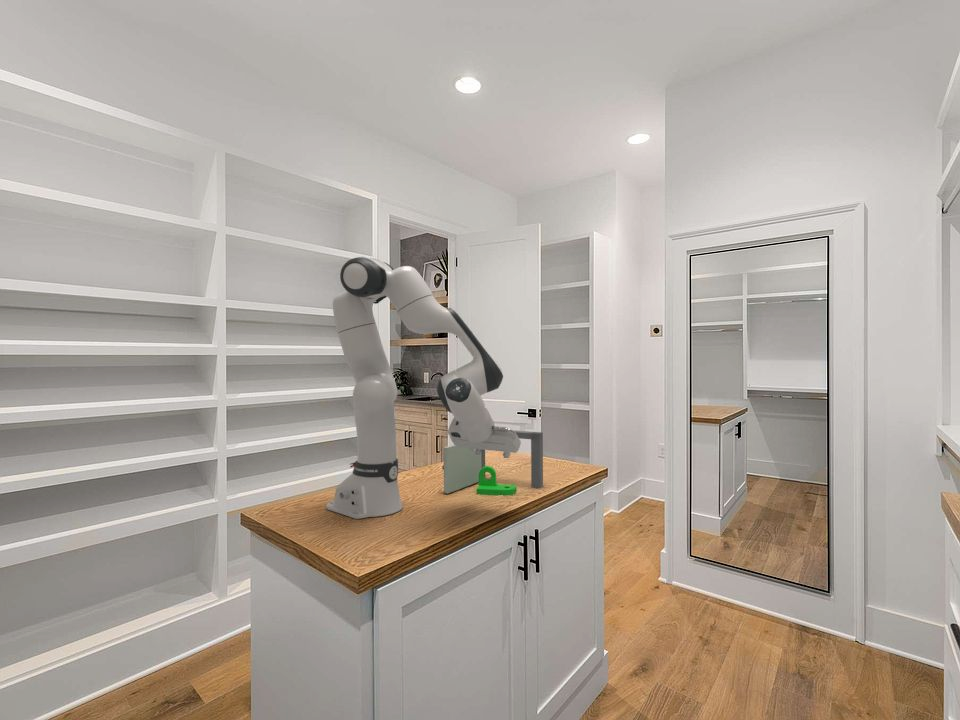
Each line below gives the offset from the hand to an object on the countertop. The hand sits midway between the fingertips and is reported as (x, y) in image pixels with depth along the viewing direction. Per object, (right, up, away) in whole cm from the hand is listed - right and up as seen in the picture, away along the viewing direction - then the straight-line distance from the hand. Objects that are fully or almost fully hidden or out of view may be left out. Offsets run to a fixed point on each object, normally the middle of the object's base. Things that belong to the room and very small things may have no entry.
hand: (492, 454), depth 141 cm
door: (-10, -14, +18) cm, 25 cm away
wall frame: (+2, -14, +25) cm, 29 cm away
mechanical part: (+2, -15, +13) cm, 20 cm away
